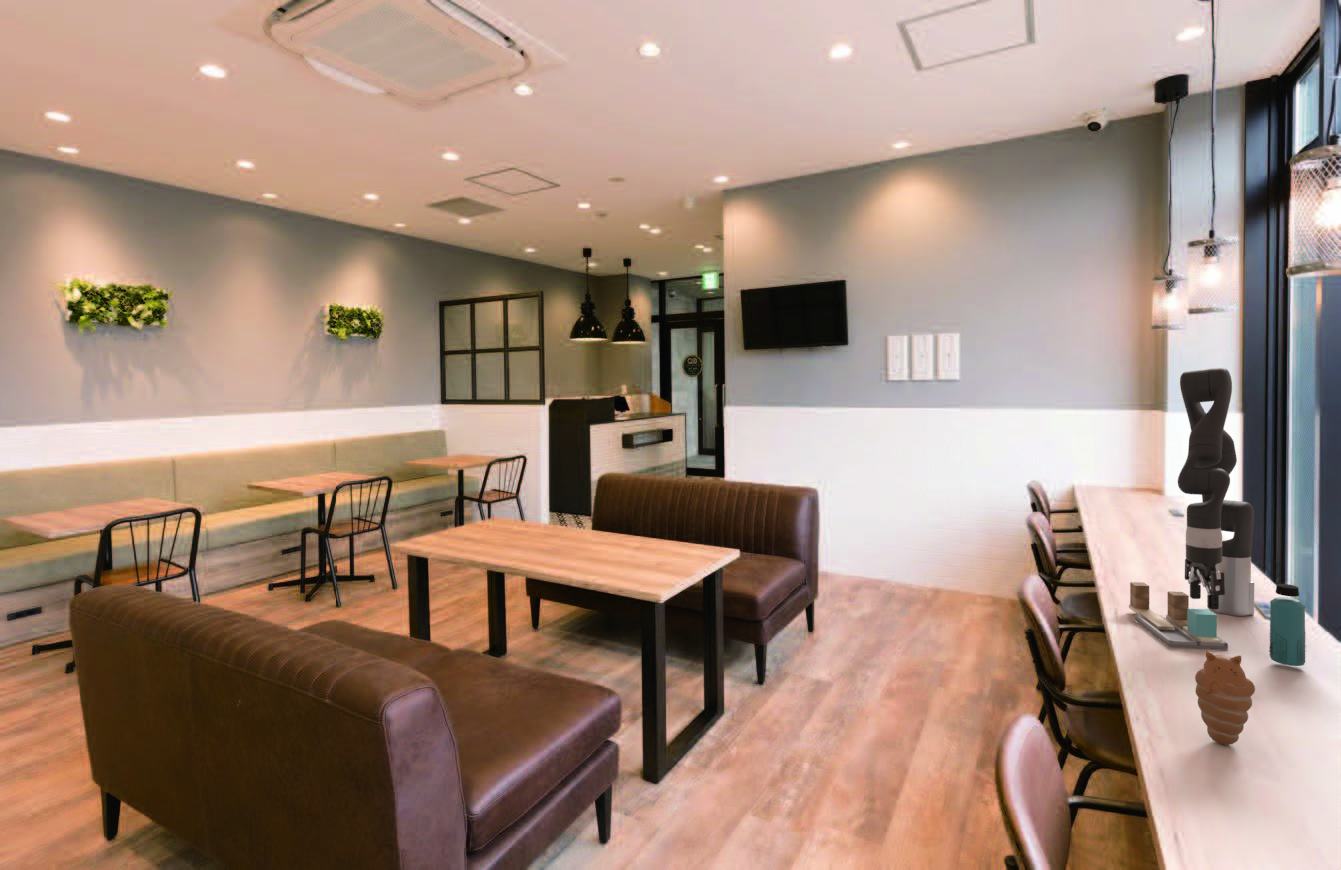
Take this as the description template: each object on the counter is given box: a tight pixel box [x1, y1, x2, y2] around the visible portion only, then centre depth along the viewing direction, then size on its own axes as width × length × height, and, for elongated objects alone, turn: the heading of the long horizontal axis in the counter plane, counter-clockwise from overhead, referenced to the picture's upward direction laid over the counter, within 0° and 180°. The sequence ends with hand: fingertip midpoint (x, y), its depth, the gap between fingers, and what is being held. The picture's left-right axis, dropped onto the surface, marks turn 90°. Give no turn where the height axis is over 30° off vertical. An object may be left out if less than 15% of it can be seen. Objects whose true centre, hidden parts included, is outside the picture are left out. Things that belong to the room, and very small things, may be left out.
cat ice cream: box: [1194, 650, 1256, 746], centre depth 128 cm, size 9×8×18 cm
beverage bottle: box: [1268, 583, 1307, 667], centre depth 160 cm, size 6×7×20 cm
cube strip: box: [1128, 581, 1175, 630], centre depth 192 cm, size 4×19×8 cm, turn 166°
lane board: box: [1134, 613, 1229, 651], centre depth 183 cm, size 13×21×2 cm, turn 166°
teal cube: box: [1187, 608, 1218, 637], centre depth 177 cm, size 5×5×6 cm
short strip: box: [1165, 591, 1190, 628], centre depth 188 cm, size 4×8×8 cm, turn 166°
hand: (1203, 603), depth 177 cm, fingers open, 8 cm apart
